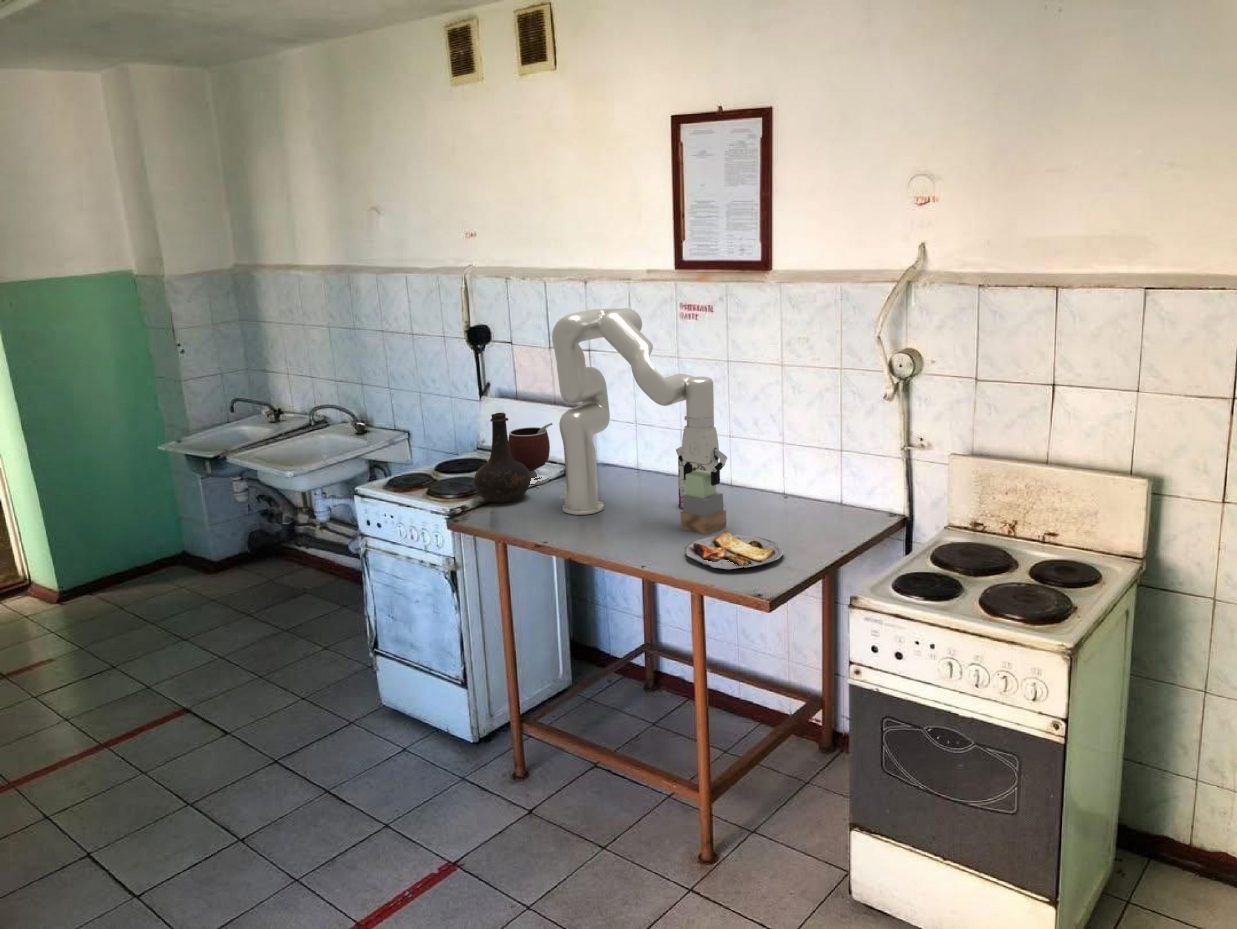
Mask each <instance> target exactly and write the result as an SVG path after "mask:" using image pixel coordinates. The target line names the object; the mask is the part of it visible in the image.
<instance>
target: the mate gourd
mask: <svg viewBox="0 0 1237 929" xmlns="http://www.w3.org/2000/svg"><path fill="white" fill-rule="evenodd" d="M553 424H554V423H553V422H549V423H548V424H545V425H544V426H542V427H538V426H537V427H535V426H534V427H533V426H532V427H531V426H530V427H529V426H528V427H521V428H515V429H512V430H509V432H508V443H509V448H510V453H511V456H512V458H513V460H515V461H517V462H520V463H522V464H523V465H524V466H526V468H527V469H528V470H529V473H530V477H531V478H535V477H537V474H538V473H537V472H536V470H538V469H540V468H542V467H543V466H545V465H546V463H547V461H548V460H549V459H550V452H551V451H550V450H551V446H550V437H549V433H548V430H547V428H548V427H550V426H553ZM541 478H542V477H541ZM541 478H540V477H539V478H535V479H534V480H538V479H541ZM549 481H550V477H549V478H547V479H545V480H542V481H537V482H536V483H535V484H537V485H542V484H545V483H548V482H549Z"/></svg>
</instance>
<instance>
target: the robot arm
mask: <svg viewBox="0 0 1237 929" xmlns="http://www.w3.org/2000/svg"><path fill="white" fill-rule="evenodd" d="M642 328H643V321H642V317H641V316H640V314H639V313H638V312H637V311H635V310H634V309H632V308H629V307H628V308H627V307H624V308H623V307H622V308H595V309H589V310H583V311H578V312H573V313H570V314H567V315H565V316H563V317H561V318H560V319H559V320H557V322H556V323H555V324H554V326H553V329H552V333H551V341H552V347H553V351H554V355H555V361H556V363H555V364H556V371H557V379H558V380H557V381H558V384H559V385H558V387H559V392H560V396H561V398H562V399H563V401H564V402H565V403H568V404H577V403H580V402H581V405H578V406H575V407H572V408H570V409H567V410H566V411H565V412H563V414H562V415H561V417H560V418H559V423H558V425H559V431H560V435H561V439H562V444H563V452H564V454H563V455H564V466H565V467H564V469H565V483H566V486H565V487H566V490H564V491H563V492H562V494H561V495H560V496H559V498H560V500H564V502H565V503H564V504H562V511H563V512H564V513H565V514H568V515H577V516H579V515H580V516H583V515H586V516H587V515H591V514H596V513H599V512H601V511H603V510H604V509H605V504H604V502H602V501H600V500H599V487H598V468H597V452H596V447H595V444H594V443H593V440H592V437H591V436H594V435H596V434H599V433H601V432H603V431H605V430H606V429H607V428H608V426H609V423H610V419H611V418H610V417H611V416H610V415H611V414H610V405H609V404H610V403H609V397H608V396H609V395H608V388H607V382H606V378H605V377H604V374H603V373H602V372H601V371H600V370H599V369H598V368H596V367H594V366H587V365H586V358H585V353H584V350H583V349H582V347H581V346H580V343H582V342H585V341H590V340H595V339H602V338H604V339H605V340H606V342H608V343H609V344H610V345H611V346H612V347H613V349H615V350H616V352H617V353H619V354H620V355H621V357H623V358H624V360H625V361H626V362H627V363H628V364H629V365H630V368H631V372H632V376H633V377H634V378H633V379H634V380H635V383H636V384H637V386H638V387H639V388H640V389H641V391H642V392H643V393H644V394H645V395H646V396H647V397H648V398H649V399H650V400H652V401H653V402H654V403H655V404H656V405H659V406H663V407H667V406H671V405H674V404H677V403H679V402H680V403H681V402H683V401H685V402H686V403H685V408H686V409H685V410H686V411H685V413H686V415H685V416H684V417H683V419H684V421H686V425H685V426H684V428H683V432H682V433H683V434H682V438H681V439H682V440H681V446H680V447H678V448H676V449H675V452H676V454H677V460H678V459H679V460H680V462H681V465H682V466H683V472H684V480H686V474H688V473H691V472H692V464H690V463H697V464H702V465H708V464H709V466H710V467H711V469H712V472H711V485H712V486H714V485H716V486H717V485H719V484H721V483H720V482H721V471H722V470H723V467H725V466H726V462H727V460H728V456H727V455H725V453H723V452H721V450H720V449H719V448H720V447H719V438H718V431H717V429H716V427H715V412H714V411H715V410H714V408H715V406H714V404H715V402H714V396H715V395H714V381H713V379H712V378H710V377H708V376H693V375H689V374H685V373H676V374H673V375H668V376H666V377H665V376H663V375H662V374H661V373H660V372H659V371H658V370H657V369H656V368H655V367H654V365H653V364H652V361H651V358H650V355H651V353H652V352H653V350H654V346H653V343H652V341H650V340H649V339H648V337H646V335H644V334H643V333H642ZM713 463H714V464H715V465H714V464H713Z"/></svg>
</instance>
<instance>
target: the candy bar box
mask: <svg viewBox="0 0 1237 929" xmlns="http://www.w3.org/2000/svg"><path fill="white" fill-rule="evenodd" d="M677 462H678V463H677V465H678V467H677V470H678V473H677V474H678V508H679V509H683V495H685V494H686V480H684V472H683V466H682V465H681V462H680V460H679V459H678V458H677ZM690 464H692V472H694V471H697V470H703V471H709V472H712V469H711V467H710V466H709V464H708V465H702V464H697V463H690ZM713 464H714V463H713ZM714 465H715V464H714Z"/></svg>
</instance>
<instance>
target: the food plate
mask: <svg viewBox="0 0 1237 929" xmlns="http://www.w3.org/2000/svg"><path fill="white" fill-rule="evenodd" d="M684 553H685V556H687V557H688V558H690V559H693V560H695V561H696V562H698V563H701V564H703V565H702V566H709V567H711V568H714V569H715V568H716V569H724V570H732V569H734V570H736V569H742V568H743V567H744V568H750V567H756V566H761V565H765V564H766V565H767V564H769V563H771V562H774V561H776V560H779V559H780V558H781V557H782V555H783V553H784V549H783V547H781V545H779V544H778V543H777V542H775V541H772V540H769V539H766V538H762V537H758V536H754V535H745V534H733V533H732V534H731V533H730V531H724V532H723V533H721V534H718V535H711V536H707V537H702V538H698V539H695V540H692V542H689V543H688V545H686V546H685V547H684ZM704 560H708V561H712V562H718V561H719V562H721V561H720V560H729V561H730V562H733V563H734V564H737V565H738V566H737V565H734V564H733V565H734V566H733V565H732V566H731V567H730V566H729V567H728V566H722V565H720V566H717V565H714V564H709V563H707V562H706V561H704ZM729 561H727V562H729ZM753 562H754V563H753ZM749 564H751V565H749Z"/></svg>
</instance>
